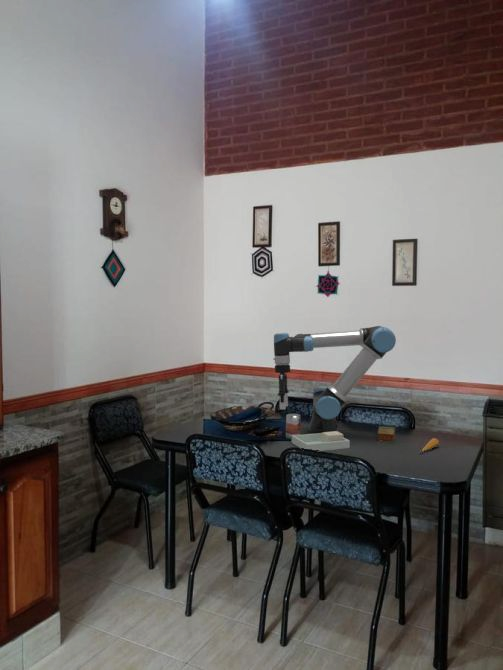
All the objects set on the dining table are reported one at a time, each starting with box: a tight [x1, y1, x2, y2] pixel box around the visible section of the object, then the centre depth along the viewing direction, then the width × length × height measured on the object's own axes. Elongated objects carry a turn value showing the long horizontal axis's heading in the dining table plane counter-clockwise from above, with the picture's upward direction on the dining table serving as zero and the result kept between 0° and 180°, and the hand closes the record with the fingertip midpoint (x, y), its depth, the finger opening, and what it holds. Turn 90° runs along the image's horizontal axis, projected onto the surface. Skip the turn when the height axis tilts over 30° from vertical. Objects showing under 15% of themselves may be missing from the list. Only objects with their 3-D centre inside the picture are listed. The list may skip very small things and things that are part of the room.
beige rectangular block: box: [322, 430, 344, 443], centre depth 258 cm, size 8×6×6 cm
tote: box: [291, 433, 351, 452], centre depth 258 cm, size 22×16×4 cm
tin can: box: [285, 413, 302, 440], centre depth 272 cm, size 7×7×12 cm
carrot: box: [421, 437, 440, 451], centre depth 257 cm, size 20×4×4 cm, turn 139°
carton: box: [376, 425, 396, 442], centre depth 279 cm, size 8×16×4 cm, turn 164°
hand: (284, 407), depth 271 cm, fingers open, 13 cm apart
